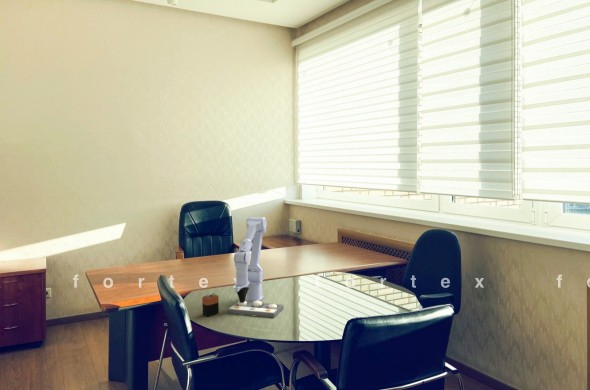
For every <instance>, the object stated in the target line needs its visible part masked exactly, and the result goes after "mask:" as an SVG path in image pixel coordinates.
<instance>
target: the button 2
mask: <svg viewBox="0 0 590 390" xmlns="http://www.w3.org/2000/svg"><path fill="white" fill-rule="evenodd" d="M262 303H263V302H262V301H261V300H260V301H254V302H253V307H257V308H261V307H262Z"/></svg>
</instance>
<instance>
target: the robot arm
mask: <svg viewBox="0 0 590 390" xmlns="http://www.w3.org/2000/svg"><path fill="white" fill-rule="evenodd" d="M245 220H246V222H245V224H246V233H245V237H244V239H242V240H241V242H240V245H239V248H238V251H236V252H235V253H234V256H233V262H234V267H235V276H236V280H235V281H236V282H235V283H234V284H233V285H234V286H235V287H234V288H233V289H234V292H236V294H237V297H238V301H240V302H241V303H244V302H245V301H246V302H254V301H261V300H262V299H263V298H265V296H264V295H263V285H262V282H263V280H264V269H263V268H262V267H261V266H260V261H261V260H260V259H261V252H262V251H261V250H262V244H263V242H262V241H263V237H264V236H263V235H265V234H266V232H267V226H268V225H267V223H268V222H267V218H266V217H265V216H263V217H260V216H259V217H257V216H256V217H255V216H253V217H252V216H248V217H246V219H245Z"/></svg>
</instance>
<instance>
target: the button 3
mask: <svg viewBox="0 0 590 390" xmlns="http://www.w3.org/2000/svg"><path fill="white" fill-rule="evenodd" d="M269 304H270V305H268V309H277V305H275V304H276V303H269Z"/></svg>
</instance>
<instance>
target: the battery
mask: <svg viewBox="0 0 590 390" xmlns="http://www.w3.org/2000/svg"><path fill="white" fill-rule="evenodd" d="M219 301H220V300H219V295H217V294H216V293H214V292H213V293H211V294H209V293H208V294H205V295H204V296H202V301H201V302H202V303H201V305H202V306H201V307H202V316H205V317H208V318H209V317H213V316H216V315H218V314H220V311H219V310H220V309H219V307H220V306H219Z"/></svg>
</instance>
